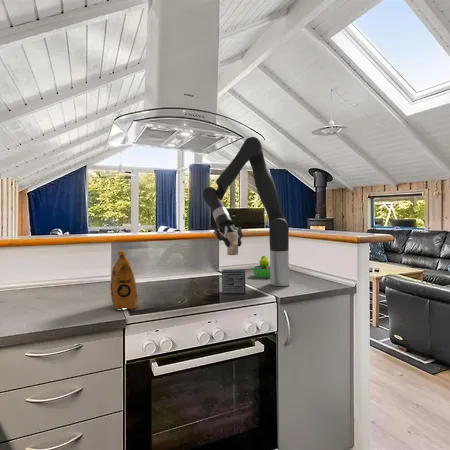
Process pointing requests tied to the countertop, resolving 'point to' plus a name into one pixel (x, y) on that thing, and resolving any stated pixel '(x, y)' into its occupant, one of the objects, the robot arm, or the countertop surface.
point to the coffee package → (123, 284)
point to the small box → (233, 281)
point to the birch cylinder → (232, 243)
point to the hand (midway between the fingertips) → (234, 245)
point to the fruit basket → (262, 268)
